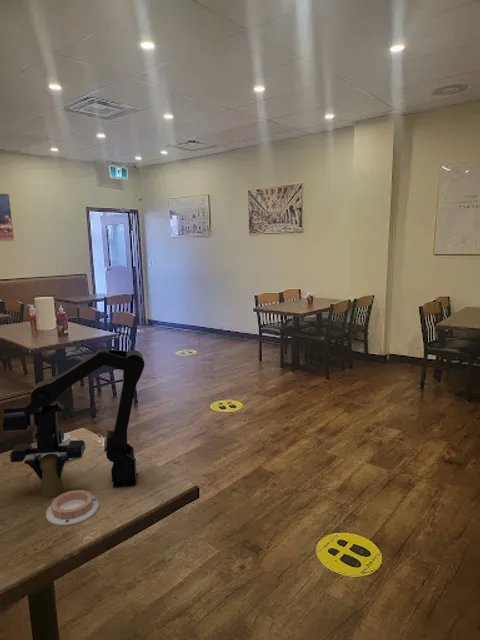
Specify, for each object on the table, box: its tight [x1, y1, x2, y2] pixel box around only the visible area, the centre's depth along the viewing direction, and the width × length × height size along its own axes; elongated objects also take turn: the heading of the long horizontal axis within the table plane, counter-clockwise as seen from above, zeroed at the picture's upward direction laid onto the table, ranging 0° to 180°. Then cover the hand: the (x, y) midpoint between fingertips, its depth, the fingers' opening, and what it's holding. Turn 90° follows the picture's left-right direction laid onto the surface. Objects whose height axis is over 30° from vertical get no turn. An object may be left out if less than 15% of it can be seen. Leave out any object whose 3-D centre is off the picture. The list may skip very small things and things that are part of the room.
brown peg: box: [40, 454, 65, 499], centre depth 122 cm, size 6×6×11 cm
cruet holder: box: [45, 489, 100, 527], centre depth 114 cm, size 13×13×3 cm
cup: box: [56, 433, 79, 461], centre depth 141 cm, size 7×10×8 cm
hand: (51, 478), depth 123 cm, fingers closed on brown peg, 4 cm apart
